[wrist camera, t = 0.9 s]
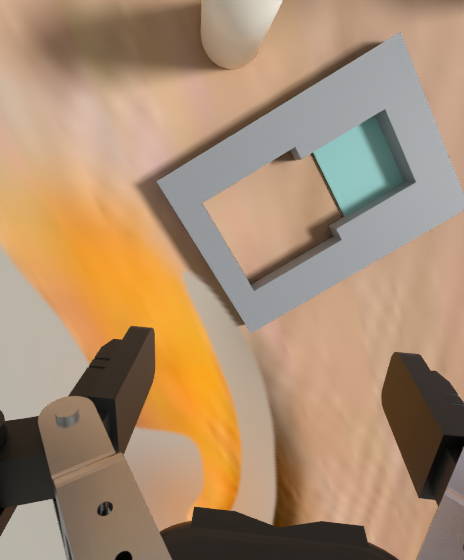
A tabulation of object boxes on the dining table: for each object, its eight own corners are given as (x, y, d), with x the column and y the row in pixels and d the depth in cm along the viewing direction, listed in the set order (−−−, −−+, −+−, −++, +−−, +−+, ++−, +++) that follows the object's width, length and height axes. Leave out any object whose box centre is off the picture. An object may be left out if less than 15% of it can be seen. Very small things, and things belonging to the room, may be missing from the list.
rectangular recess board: (247, 324, 34) (250, 333, 32) (159, 181, 30) (156, 181, 28) (452, 205, 32) (468, 207, 31) (386, 41, 29) (400, 32, 27)
